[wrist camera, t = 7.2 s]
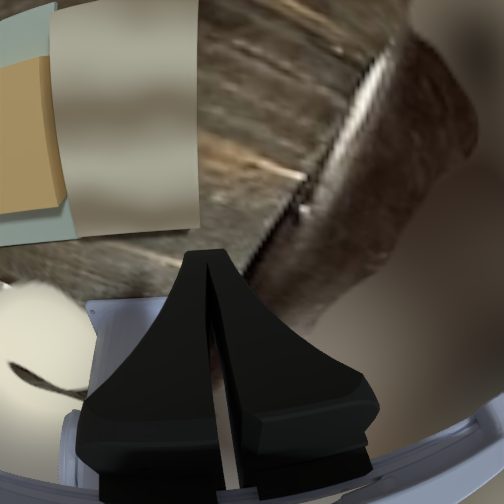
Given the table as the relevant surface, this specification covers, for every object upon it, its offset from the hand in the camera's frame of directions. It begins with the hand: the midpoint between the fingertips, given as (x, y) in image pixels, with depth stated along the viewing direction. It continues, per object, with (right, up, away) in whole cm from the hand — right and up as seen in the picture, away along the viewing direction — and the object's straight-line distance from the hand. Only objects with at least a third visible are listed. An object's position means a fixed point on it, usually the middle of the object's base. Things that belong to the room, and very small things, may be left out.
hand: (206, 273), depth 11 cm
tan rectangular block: (-13, +7, +3) cm, 15 cm away
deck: (-6, +9, +6) cm, 12 cm away
